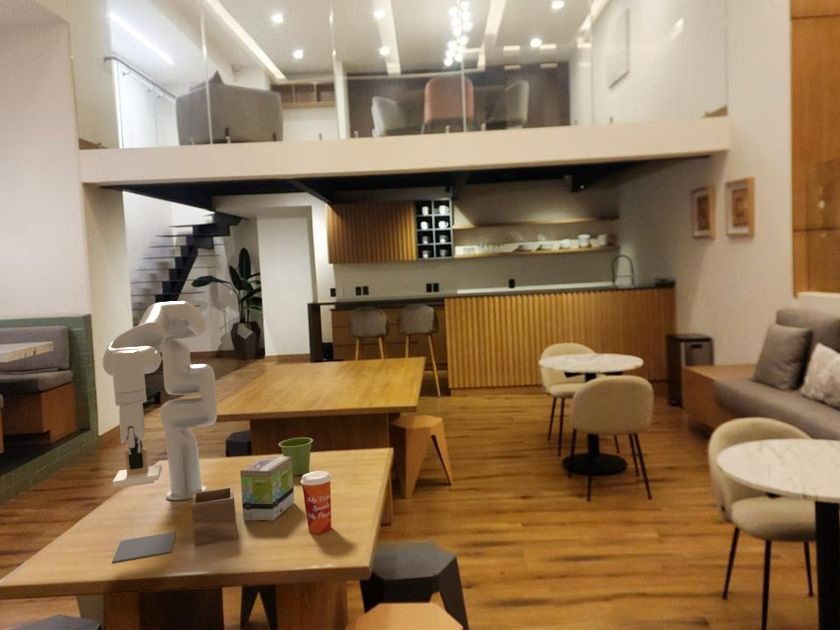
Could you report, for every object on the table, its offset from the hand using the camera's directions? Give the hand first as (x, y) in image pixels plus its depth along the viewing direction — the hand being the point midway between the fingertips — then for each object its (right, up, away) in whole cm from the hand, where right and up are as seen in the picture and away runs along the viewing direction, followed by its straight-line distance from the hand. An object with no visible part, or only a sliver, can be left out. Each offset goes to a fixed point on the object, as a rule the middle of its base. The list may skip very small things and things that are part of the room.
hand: (137, 466), depth 171 cm
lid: (0, -4, 0) cm, 4 cm away
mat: (+2, -22, +1) cm, 22 cm away
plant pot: (+31, -16, +59) cm, 69 cm away
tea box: (+30, -19, +22) cm, 42 cm away
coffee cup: (+47, -18, +6) cm, 51 cm away
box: (+19, -20, +7) cm, 28 cm away
